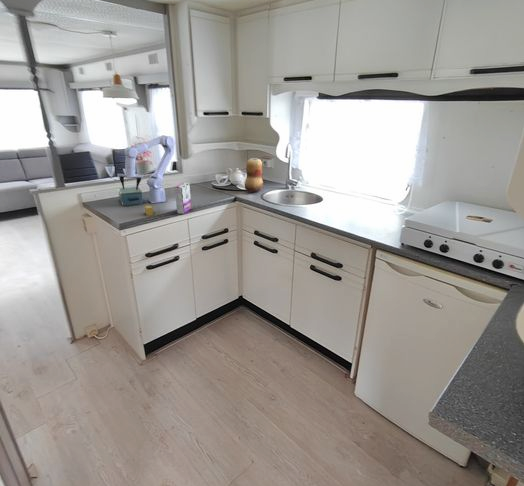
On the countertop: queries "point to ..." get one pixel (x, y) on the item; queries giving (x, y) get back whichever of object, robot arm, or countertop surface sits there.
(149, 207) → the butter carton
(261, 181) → the butternut squash
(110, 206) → the countertop surface
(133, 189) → the cabinet
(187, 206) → the candy bar box
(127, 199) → the drawer
